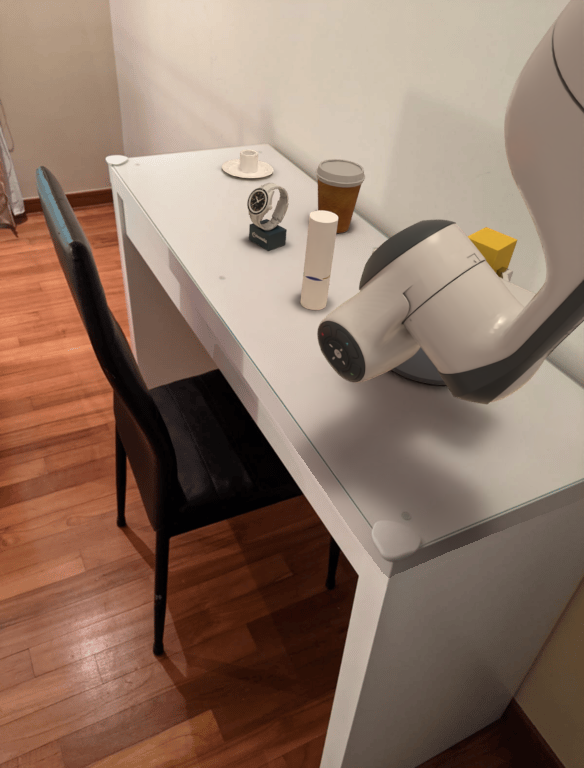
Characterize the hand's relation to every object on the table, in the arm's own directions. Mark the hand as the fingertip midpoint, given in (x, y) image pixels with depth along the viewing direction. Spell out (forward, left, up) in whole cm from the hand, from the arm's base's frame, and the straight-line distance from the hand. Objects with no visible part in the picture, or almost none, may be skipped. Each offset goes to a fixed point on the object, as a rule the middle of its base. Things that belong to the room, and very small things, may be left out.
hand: (486, 265), depth 79 cm
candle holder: (+61, -50, -17) cm, 81 cm away
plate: (+5, -2, -17) cm, 18 cm away
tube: (+25, -5, -17) cm, 30 cm away
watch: (+41, -20, -17) cm, 49 cm away
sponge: (0, +1, -5) cm, 5 cm away
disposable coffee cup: (+33, -34, -17) cm, 50 cm away
